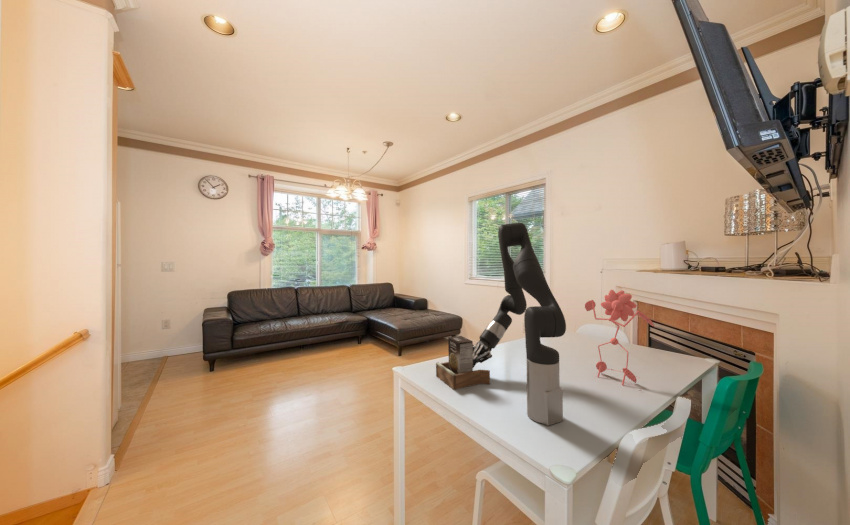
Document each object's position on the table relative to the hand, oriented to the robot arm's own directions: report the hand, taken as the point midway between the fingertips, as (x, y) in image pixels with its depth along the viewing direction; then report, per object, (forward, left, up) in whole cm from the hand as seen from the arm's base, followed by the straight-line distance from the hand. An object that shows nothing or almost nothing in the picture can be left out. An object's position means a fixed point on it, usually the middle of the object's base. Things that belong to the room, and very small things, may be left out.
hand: (468, 368), depth 119 cm
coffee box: (0, +4, -4) cm, 6 cm away
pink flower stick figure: (-27, -53, -4) cm, 60 cm away
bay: (0, +4, -4) cm, 5 cm away
